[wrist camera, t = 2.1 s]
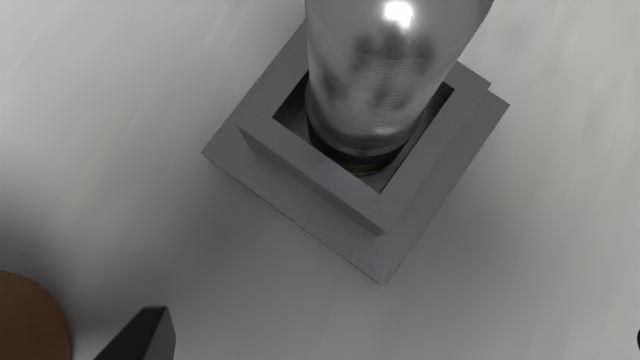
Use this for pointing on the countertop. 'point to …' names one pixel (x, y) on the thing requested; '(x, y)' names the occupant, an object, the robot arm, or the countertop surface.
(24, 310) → the mug
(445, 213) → the countertop surface
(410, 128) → the grey ridged cylinder
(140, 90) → the countertop surface
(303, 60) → the stand sleeve
